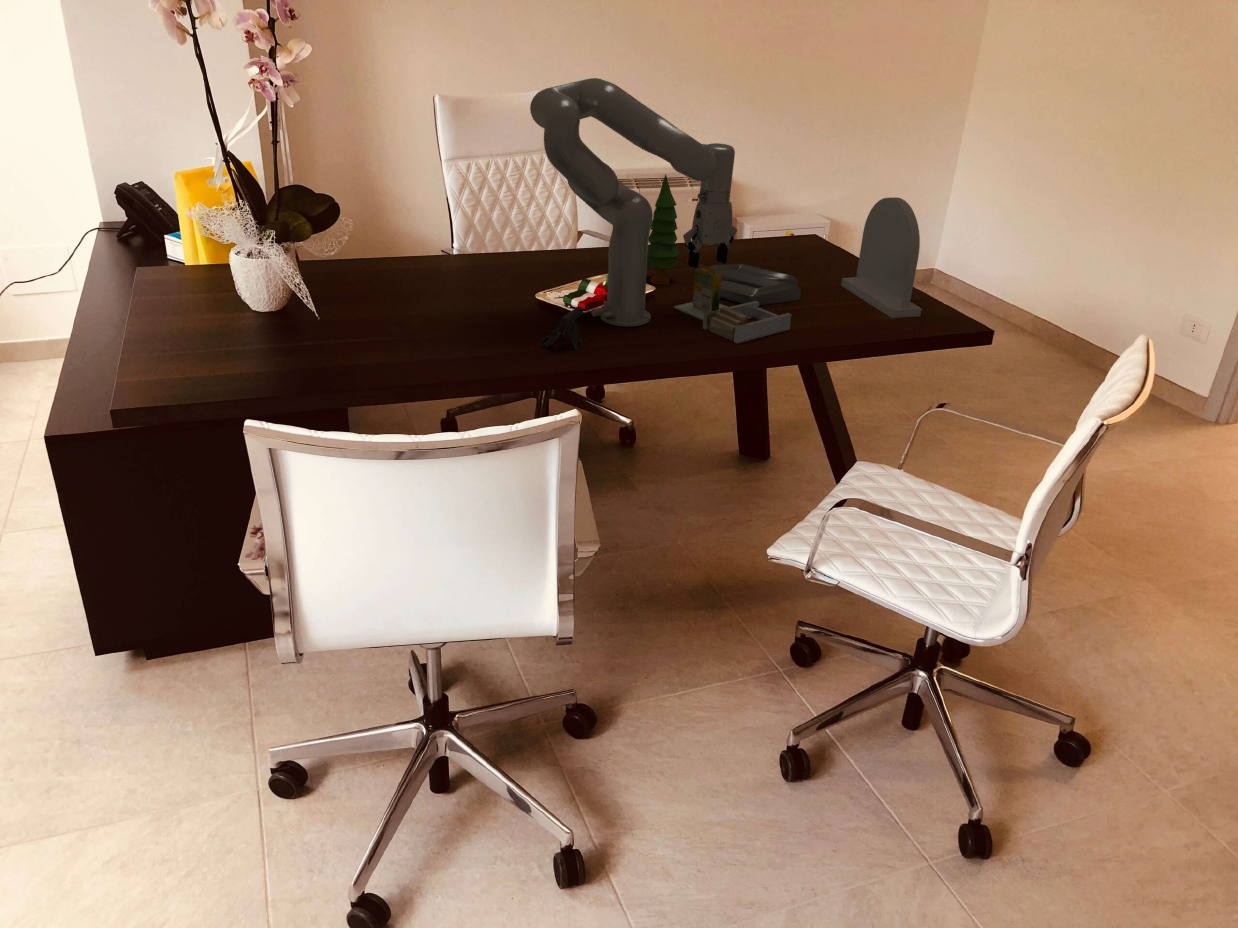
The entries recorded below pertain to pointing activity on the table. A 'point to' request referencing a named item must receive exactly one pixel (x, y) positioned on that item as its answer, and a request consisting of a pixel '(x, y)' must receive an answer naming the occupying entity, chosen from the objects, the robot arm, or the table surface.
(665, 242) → the decorative tree
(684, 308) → the mat
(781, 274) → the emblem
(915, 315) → the gray tombstone
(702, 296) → the crayon box
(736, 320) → the offcut stack
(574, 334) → the portable electronic device stand
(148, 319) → the table surface
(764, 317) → the rack
